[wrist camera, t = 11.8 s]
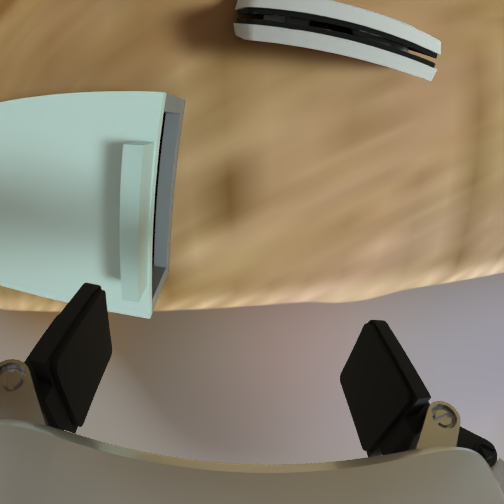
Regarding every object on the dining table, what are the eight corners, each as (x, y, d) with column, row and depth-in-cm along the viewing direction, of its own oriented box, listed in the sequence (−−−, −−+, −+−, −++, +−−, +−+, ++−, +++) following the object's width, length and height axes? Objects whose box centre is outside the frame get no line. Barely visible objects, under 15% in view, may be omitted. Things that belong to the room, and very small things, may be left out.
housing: (-50, 118, 19) (-98, 129, 11) (185, 100, 23) (159, 90, 15) (-44, 234, 26) (-84, 262, 18) (168, 271, 30) (146, 326, 21)
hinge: (408, 26, 20) (469, 39, 13) (400, 65, 23) (455, 92, 16) (237, -11, 19) (232, -28, 11) (232, 34, 22) (226, 40, 15)
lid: (-10, 104, 15) (-36, 107, 12) (166, 93, 17) (152, 88, 14) (3, 280, 21) (-16, 298, 18) (152, 312, 23) (142, 338, 20)
